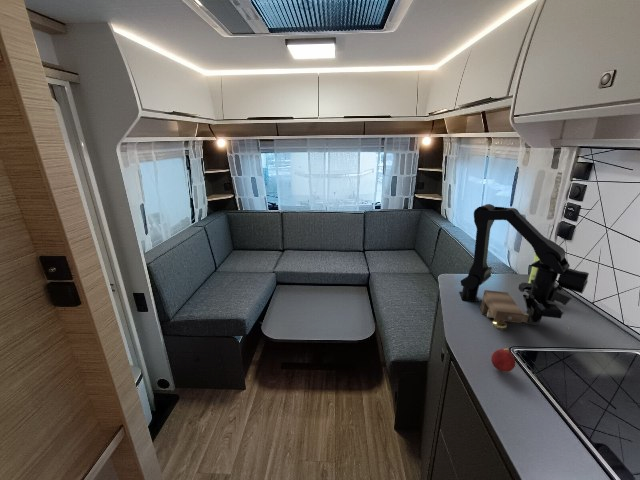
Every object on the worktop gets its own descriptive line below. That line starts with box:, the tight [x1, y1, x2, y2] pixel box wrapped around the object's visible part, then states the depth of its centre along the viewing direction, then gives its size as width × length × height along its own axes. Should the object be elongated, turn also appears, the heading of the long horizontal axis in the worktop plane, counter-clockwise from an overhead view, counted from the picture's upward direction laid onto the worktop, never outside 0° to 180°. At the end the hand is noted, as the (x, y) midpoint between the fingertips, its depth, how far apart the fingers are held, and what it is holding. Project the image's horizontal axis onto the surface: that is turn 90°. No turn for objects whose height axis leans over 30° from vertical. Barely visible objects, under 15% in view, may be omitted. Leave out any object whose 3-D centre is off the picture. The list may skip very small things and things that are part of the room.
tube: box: [527, 252, 540, 283], centre depth 128 cm, size 6×5×20 cm
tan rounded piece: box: [491, 318, 508, 330], centre depth 105 cm, size 4×4×2 cm
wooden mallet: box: [486, 308, 543, 326], centre depth 107 cm, size 3×17×5 cm, turn 77°
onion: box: [490, 348, 516, 373], centre depth 84 cm, size 6×6×8 cm
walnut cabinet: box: [479, 289, 524, 324], centre depth 105 cm, size 15×8×9 cm, turn 168°
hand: (532, 319), depth 106 cm, fingers closed on wooden mallet, 3 cm apart
